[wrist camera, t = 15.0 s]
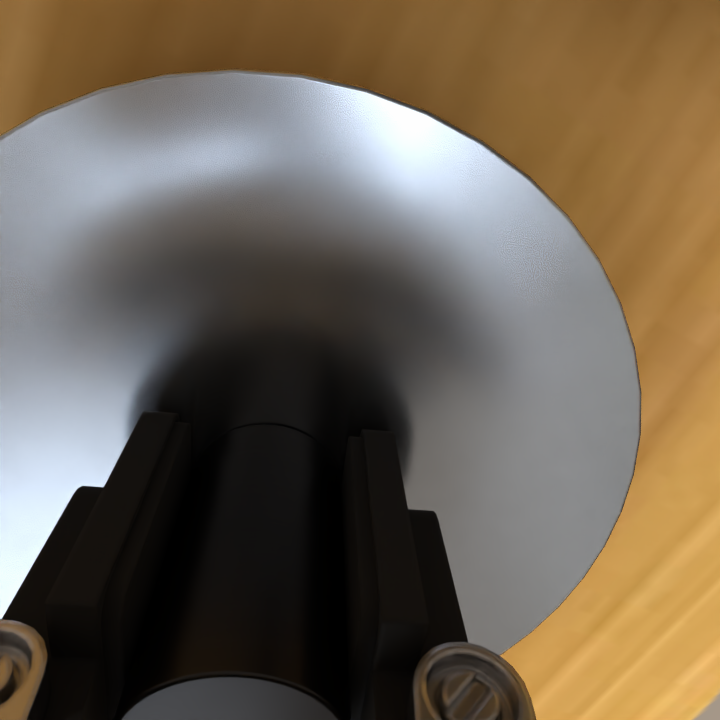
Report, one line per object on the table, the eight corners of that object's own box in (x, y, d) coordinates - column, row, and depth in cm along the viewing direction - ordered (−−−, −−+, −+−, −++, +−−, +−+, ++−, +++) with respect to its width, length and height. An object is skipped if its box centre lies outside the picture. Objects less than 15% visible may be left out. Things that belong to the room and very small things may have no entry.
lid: (-193, -1, 8) (-1067, -98, 3) (727, 134, 10) (1195, 222, 4) (-41, 667, 14) (-255, 1023, 9) (518, 689, 15) (617, 1007, 10)
